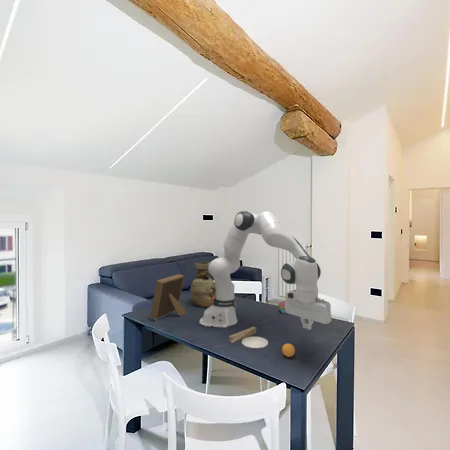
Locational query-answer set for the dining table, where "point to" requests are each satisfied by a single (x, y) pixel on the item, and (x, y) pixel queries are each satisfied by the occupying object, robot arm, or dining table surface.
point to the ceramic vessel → (203, 286)
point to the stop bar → (242, 334)
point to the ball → (288, 350)
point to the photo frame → (167, 296)
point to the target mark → (254, 342)
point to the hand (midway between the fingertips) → (307, 328)
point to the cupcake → (282, 306)
